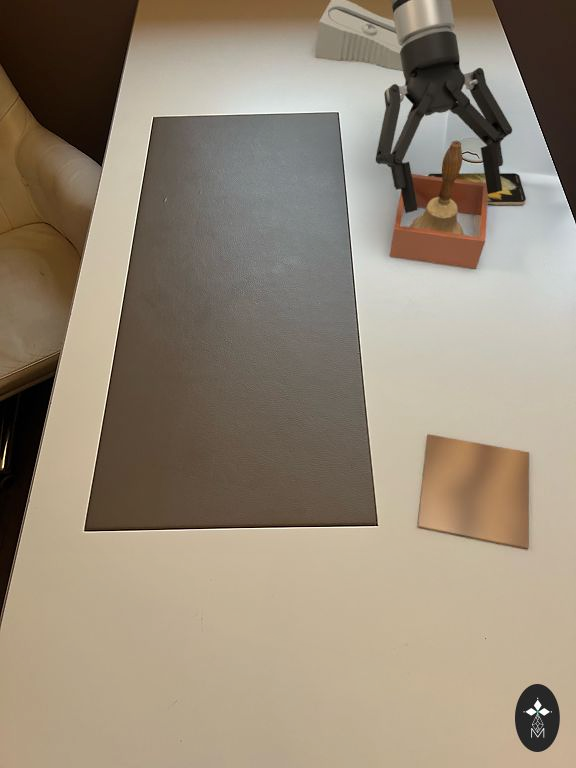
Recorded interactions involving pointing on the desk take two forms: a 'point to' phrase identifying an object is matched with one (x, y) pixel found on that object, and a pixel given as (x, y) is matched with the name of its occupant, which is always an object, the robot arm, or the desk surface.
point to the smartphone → (510, 187)
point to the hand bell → (444, 197)
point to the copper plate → (475, 491)
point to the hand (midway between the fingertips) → (453, 202)
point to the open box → (438, 243)
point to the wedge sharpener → (357, 36)
